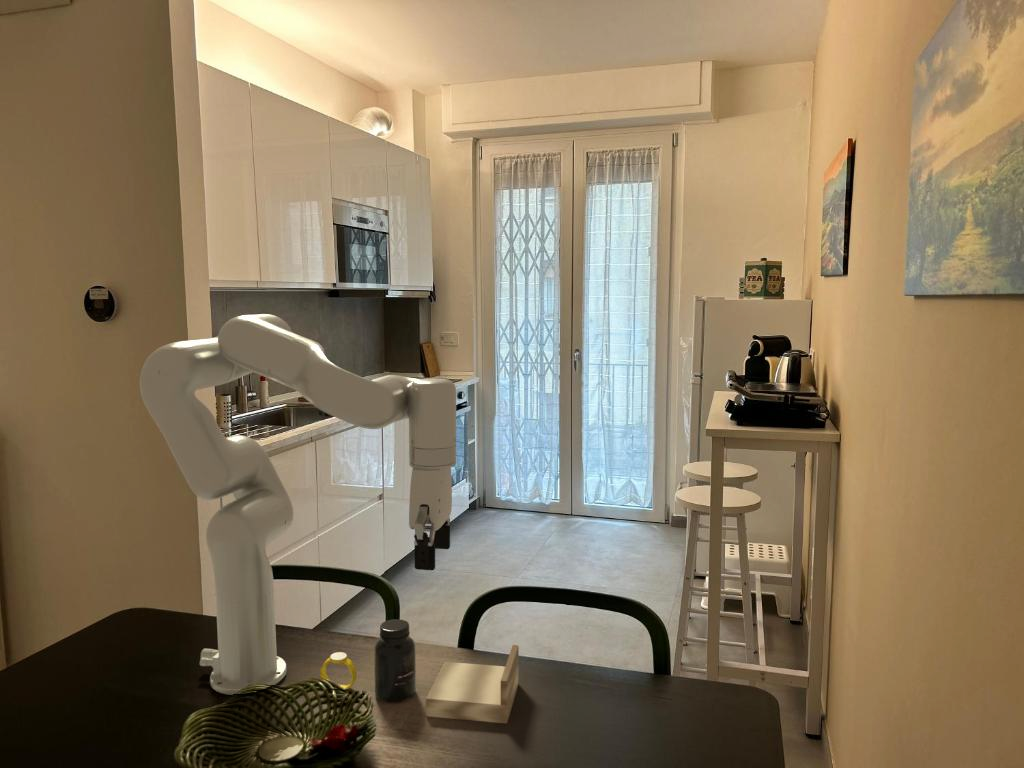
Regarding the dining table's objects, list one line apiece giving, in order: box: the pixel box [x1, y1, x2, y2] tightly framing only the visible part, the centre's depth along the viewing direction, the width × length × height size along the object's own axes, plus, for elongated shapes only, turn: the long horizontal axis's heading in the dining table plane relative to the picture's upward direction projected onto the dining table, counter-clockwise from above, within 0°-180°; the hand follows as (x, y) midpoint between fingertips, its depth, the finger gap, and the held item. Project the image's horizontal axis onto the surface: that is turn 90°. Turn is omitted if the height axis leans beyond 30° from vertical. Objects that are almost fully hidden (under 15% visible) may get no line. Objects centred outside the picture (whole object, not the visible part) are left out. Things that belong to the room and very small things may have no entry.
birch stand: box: [425, 644, 520, 724], centre depth 123 cm, size 13×12×7 cm
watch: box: [320, 651, 357, 690], centre depth 127 cm, size 6×3×6 cm, turn 78°
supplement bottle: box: [373, 618, 417, 703], centre depth 125 cm, size 7×7×12 cm
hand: (433, 558), depth 122 cm, fingers open, 9 cm apart
